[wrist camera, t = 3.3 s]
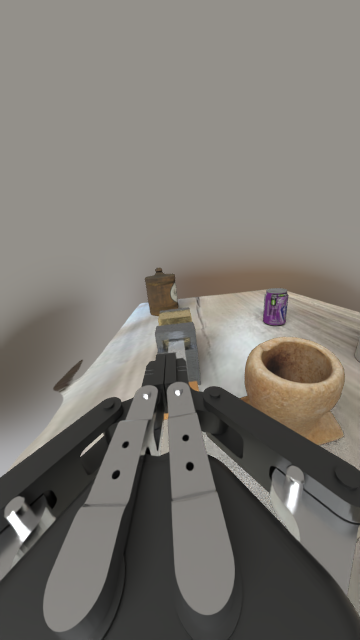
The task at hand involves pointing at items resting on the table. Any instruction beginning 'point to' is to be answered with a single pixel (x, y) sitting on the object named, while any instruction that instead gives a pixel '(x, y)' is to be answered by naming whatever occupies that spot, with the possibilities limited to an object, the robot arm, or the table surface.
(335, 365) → the stone cup
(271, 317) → the beverage can
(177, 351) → the sliding latch bolt
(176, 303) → the wooden container
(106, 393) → the table surface
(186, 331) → the latch bracket
